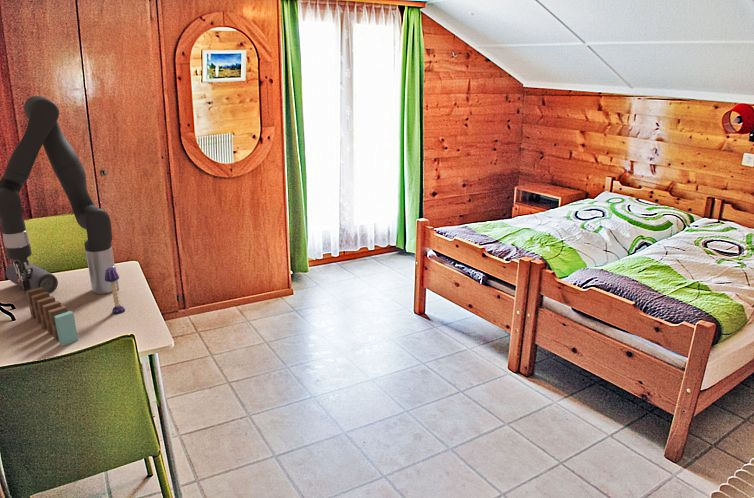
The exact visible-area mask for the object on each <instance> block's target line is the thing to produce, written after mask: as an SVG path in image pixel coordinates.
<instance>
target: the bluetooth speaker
mask: <svg viewBox="0 0 754 498" xmlns="http://www.w3.org/2000/svg"><path fill="white" fill-rule="evenodd" d="M29 267H30V268H32V269H33V274H32V279H29V281H30V286H31V289H29V290H33V289H36V288H40V287H42V288H44V292H48V293H49V295H50V294H52V293H54V292H55V291H56V290H57V289H58V284H59V281H58V279H57V277H56V276H55V274H52V272H49V271H47V270H45V269H44V268H40V267H38V266H37V265H34V264H31V263H30V266H29ZM5 276H6V278H7V279H8V281H10V282H11V283H14V284H15V285H16V286H19V287H20V288H22V283H21V280H20V279H19V277H18V276H17V274H16V272H15V270H14V268H13V265H12V262H10V264H8V266H7V267H6V268H5ZM29 290H26V291H29Z"/></svg>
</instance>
